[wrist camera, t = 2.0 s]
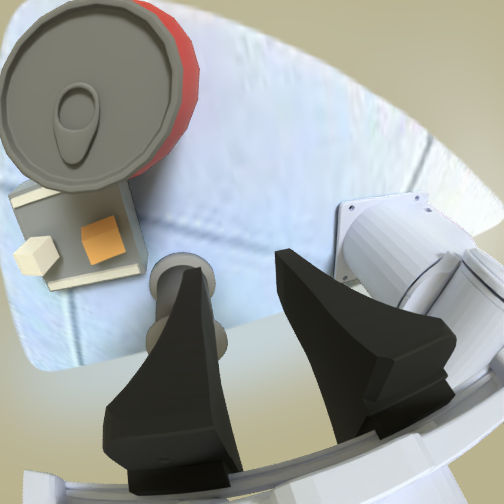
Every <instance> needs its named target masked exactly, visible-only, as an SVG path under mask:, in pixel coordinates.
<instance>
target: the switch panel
mask: <svg viewBox="0 0 504 504" xmlns="http://www.w3.org/2000/svg"><path fill="white" fill-rule="evenodd" d="M8 197H9V200H10V203H11V206H12V208H13V211H14V214H15V216H16V219H17V221H18V224H19V226H20V229H21V231H22V233H23V236H24V238H25V240H26V241H27V240H28V239H29V238H30V237H40V236H51V238H52V241H53V243H54V245H55V248H56V250H57V252H58V255H59V258H58V259H57V260H56V261H55V263H54V264H53V265H52V266H51V267H50V268H49V270H48V271H47V272H46V273H45V274H44V275H43V278H44V280H45V282H46V284H47V286H48V288H49V290H50V292H53V291H58V290H63V289H68V288H73V287H78V286H83V285H89V284H94V283H99V282H104V281H109V280H114V279H119V278H124V277H129V276H135V275H140V274H145V273H146V267H147V259H148V252H147V248H146V245H145V242H144V239H143V235H142V232H141V229H140V225H139V222H138V218H137V215H136V211H135V208H134V204H133V200H132V196H131V193H130V189H129V185H128V181H124V182H122V183H119V184H117V185H114V186H112V187H110V188H107V189H105V190H102V191H100V192H93V193H82V194H67V193H62V192H58V191H54V190H50V189H45V188H44V187H42V186H40V185H39V184H37V183H36V182H34V181H32V180H31V179H30V180H27V181H25V182H23V183H22V184H20V185H19V186H18V187H17V188H16V189H14V190H13V191H12V192H11V193H10V194H9V195H8ZM113 215H114V218H115V221H116V224H117V227H118V230H119V233H120V236H121V239H122V242H123V245H124V248H125V251H126V252H124V253H122V254H119V255H117V256H114V257H111V258H109V259H106V260H104V261H101V262H99V263H96V264H94V265H91V263H90V260H89V258H88V256H87V253H86V251H85V248H84V246H83V243H82V237H81V227H84V226H86V225H89V224H92V223H94V222H97V221H99V220H102V219H105V218H107V217H110V216H113Z"/></svg>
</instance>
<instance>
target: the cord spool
mask: <svg viewBox="0 0 504 504" xmlns="http://www.w3.org/2000/svg"><path fill="white" fill-rule="evenodd" d="M197 267H201V269H202V274H203V278H204V282H205V286H206V291H207V295H208V299H209V303H210V307H211V312H212V317H213V311H212V305H211V299H210V298H211V297H212V295H213V293H214V291H215V285H216V283H215V277H214V272H213V269H212V267H211V266H210V264H209V263H208V262H207V261H206V260H204V259H203V258H201V257H200V256H198V255H195V254H192V253H185V252H180V253H173V254H170V255H167V256H165V257H163V258H162V259H160V260H159V261H158V262H157V263H156V264H155V266H154V267H153V269H152V271H151V275H150V291H151V294H152V296H153V297H154V299H155V300H156V322H155V323H154V324H153V325H152V326H151V327H150V329H149V330H148V333H147V336H146V349H147V352H148V354H150V352H151V350H152V349H153V347H154V346H155V344H156V342H157V340H158V338H159V337H160V335H161V333H162V331H163V329H164V327H165V324H166V322H167V320H168V318H169V315H170V313H171V311H172V308H173V305H174V303H175V300H176V297H177V294H178V291H179V288H180V285H181V281H182V276H183V272H184V271H185V270H187V269H192V268H197ZM213 322H214V327H215V335H216V345H217V354H218V360H219V359H220V358H221V357H222V356H223V355H224V354H225V352H226V350H227V346H228V341H227V335H226V332H225V330H224V328H223V327H222V326H221V324H219V323H218V322H217V321H216V320H214V317H213Z"/></svg>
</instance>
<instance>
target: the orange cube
mask: <svg viewBox="0 0 504 504" xmlns="http://www.w3.org/2000/svg"><path fill="white" fill-rule="evenodd" d="M81 237H82V243H83V246H84V248H85V251H86V253H87V256H88V258H89V260H90V263H91V265H94V264H96V263H99V262H101V261H104V260H106V259H109V258H111V257H114V256H117V255H119V254H122V253H124V252H126V251H125V248H124V245H123V242H122V239H121V236H120V233H119V230H118V227H117V224H116V221H115V218H114V215H113V216H110V217H107V218H105V219H102V220H99V221H97V222H94V223H92V224H89V225H86V226H84V227H81Z"/></svg>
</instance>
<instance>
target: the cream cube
mask: <svg viewBox="0 0 504 504" xmlns="http://www.w3.org/2000/svg"><path fill="white" fill-rule="evenodd" d="M13 256H14V258H15V260H16V262H17V264H18V266H19V268H20V270H21V272H22V274H23V275H34V276H43V275H44V274H45V273H46V272H47V271H48V270H49V268H50V267H51V266H52V265H53V264H54V263H55V261H56V260H57V259H58V258H59V255H58V252H57V250H56V248H55V245H54V243H53V241H52V238H51V236H40V237H30V238H29V239H28V240H27V241H26V242H25V243H24V244H23V245H22V246H21V247H20V248H19V249H18V250H17V251H16V252H15V253H14V254H13Z"/></svg>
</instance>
